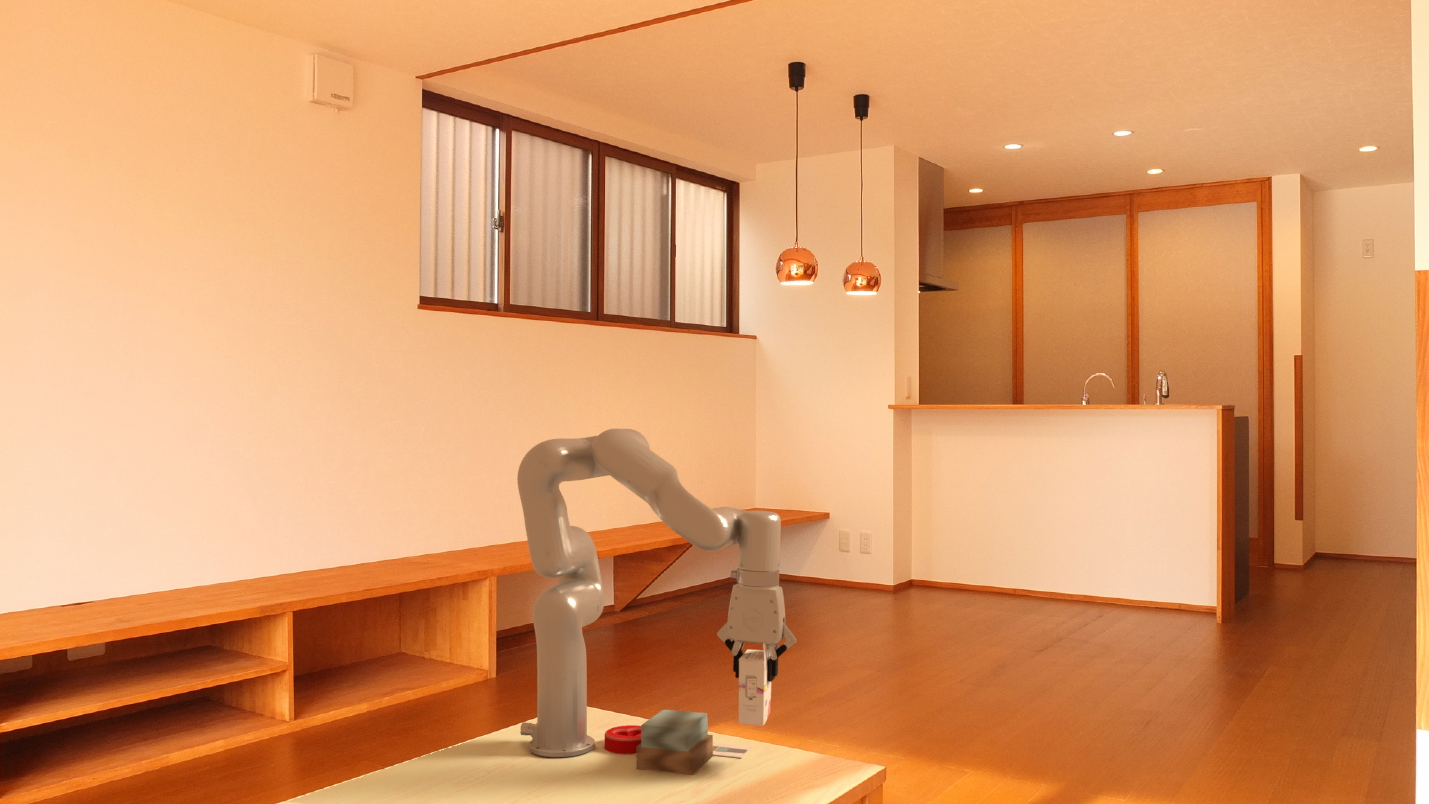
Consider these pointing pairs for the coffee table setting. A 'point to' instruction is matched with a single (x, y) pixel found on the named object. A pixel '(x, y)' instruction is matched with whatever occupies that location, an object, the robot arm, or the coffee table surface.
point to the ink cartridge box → (754, 687)
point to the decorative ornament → (623, 739)
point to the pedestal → (675, 742)
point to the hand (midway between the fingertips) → (755, 677)
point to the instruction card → (730, 750)
